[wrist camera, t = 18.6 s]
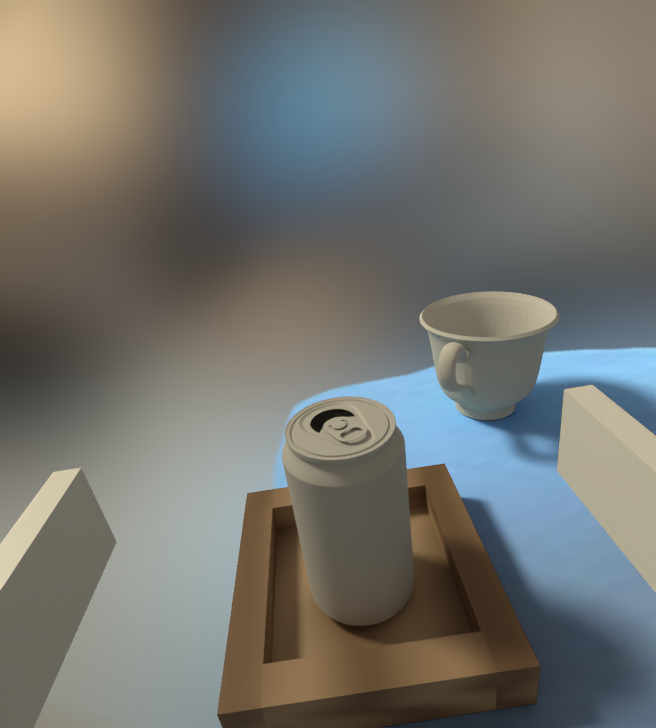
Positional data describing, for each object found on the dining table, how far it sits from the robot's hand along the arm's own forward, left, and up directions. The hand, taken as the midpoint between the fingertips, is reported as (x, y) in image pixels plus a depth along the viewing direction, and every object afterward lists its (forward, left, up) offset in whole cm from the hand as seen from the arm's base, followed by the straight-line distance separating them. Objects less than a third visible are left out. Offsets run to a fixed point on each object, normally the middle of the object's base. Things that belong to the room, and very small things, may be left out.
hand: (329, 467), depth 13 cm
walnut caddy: (-1, -10, -18) cm, 20 cm away
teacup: (-15, -28, -18) cm, 36 cm away
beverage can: (-1, -10, -17) cm, 19 cm away
